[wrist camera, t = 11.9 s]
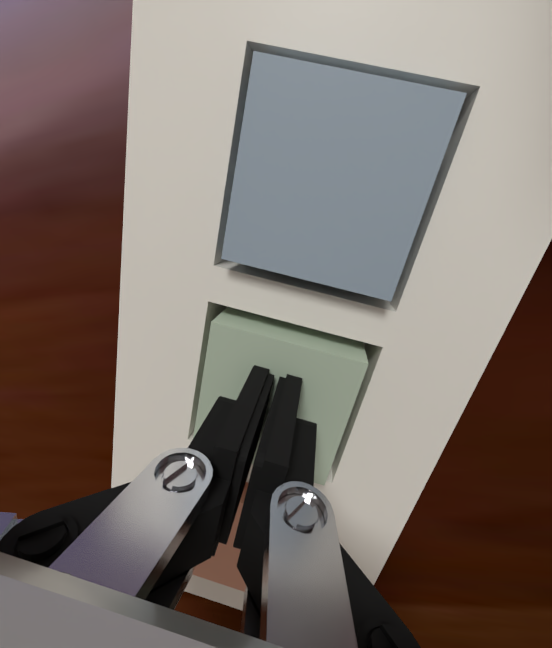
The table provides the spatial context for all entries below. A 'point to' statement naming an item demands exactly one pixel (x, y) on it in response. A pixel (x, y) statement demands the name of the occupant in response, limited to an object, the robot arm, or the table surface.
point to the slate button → (334, 172)
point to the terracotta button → (225, 559)
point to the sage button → (286, 372)
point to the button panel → (313, 298)
